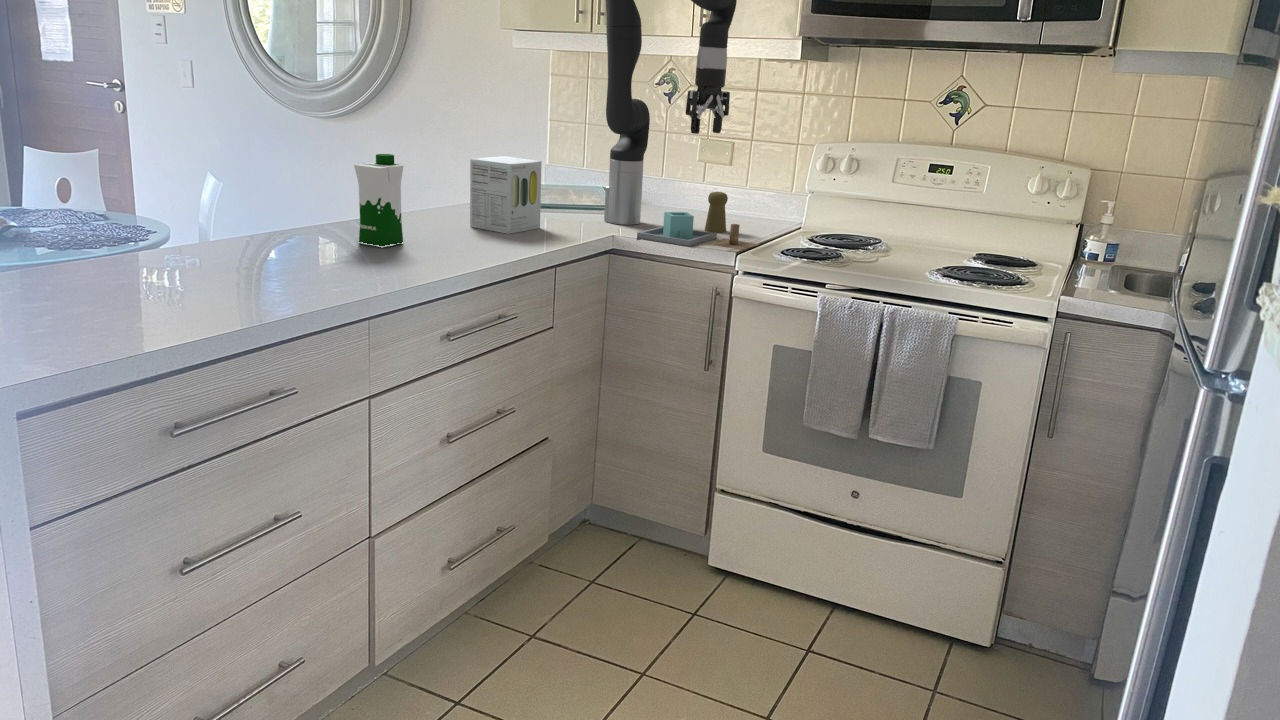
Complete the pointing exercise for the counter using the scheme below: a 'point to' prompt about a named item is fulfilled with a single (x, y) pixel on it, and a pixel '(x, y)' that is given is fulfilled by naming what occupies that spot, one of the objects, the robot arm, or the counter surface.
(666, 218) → the open box
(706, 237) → the tray
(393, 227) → the milk carton
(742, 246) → the square board with knob
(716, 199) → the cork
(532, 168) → the supplement box
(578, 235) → the counter surface
